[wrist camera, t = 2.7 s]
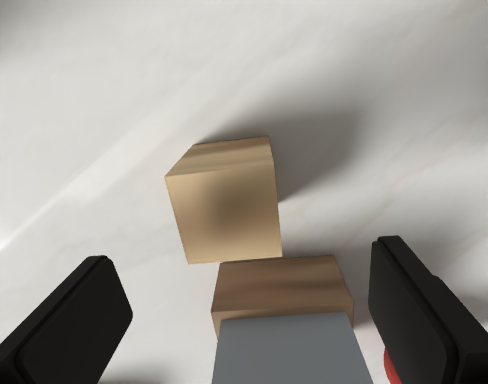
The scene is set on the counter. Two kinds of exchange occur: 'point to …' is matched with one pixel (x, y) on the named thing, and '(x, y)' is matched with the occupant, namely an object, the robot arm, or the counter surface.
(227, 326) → the grey square block
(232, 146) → the oak block
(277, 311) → the tower base
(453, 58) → the counter surface
